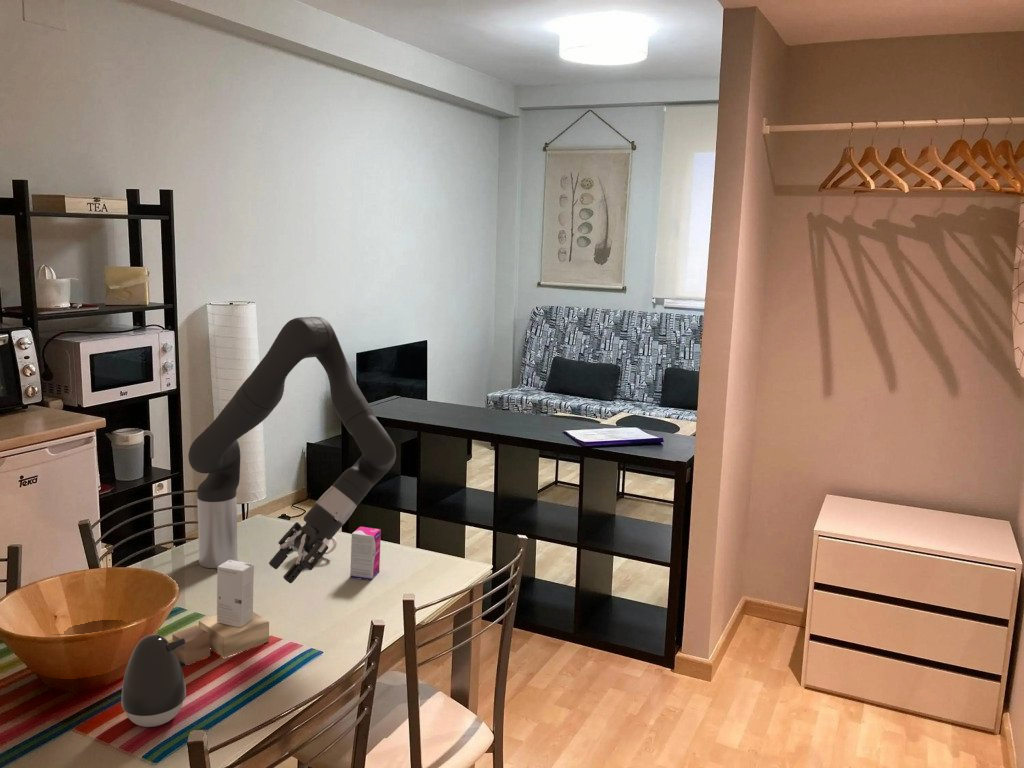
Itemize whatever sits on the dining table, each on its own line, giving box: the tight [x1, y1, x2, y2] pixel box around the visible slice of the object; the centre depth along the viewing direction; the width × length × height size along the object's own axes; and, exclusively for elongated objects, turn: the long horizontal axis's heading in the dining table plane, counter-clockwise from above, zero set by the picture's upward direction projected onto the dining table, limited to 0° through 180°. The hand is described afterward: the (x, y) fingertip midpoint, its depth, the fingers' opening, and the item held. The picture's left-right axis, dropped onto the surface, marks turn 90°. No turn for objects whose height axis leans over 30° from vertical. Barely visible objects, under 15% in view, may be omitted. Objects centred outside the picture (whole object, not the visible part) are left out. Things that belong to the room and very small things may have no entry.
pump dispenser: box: [120, 633, 187, 728], centre depth 142 cm, size 10×10×15 cm
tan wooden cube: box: [171, 625, 211, 665], centre depth 164 cm, size 5×5×5 cm
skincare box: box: [216, 560, 255, 627], centre depth 169 cm, size 6×4×12 cm
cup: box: [313, 535, 338, 558], centre depth 217 cm, size 8×10×7 cm
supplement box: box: [349, 526, 382, 581], centre depth 206 cm, size 6×6×12 cm
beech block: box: [198, 611, 270, 659], centre depth 171 cm, size 10×10×5 cm
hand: (279, 573), depth 175 cm, fingers open, 8 cm apart
